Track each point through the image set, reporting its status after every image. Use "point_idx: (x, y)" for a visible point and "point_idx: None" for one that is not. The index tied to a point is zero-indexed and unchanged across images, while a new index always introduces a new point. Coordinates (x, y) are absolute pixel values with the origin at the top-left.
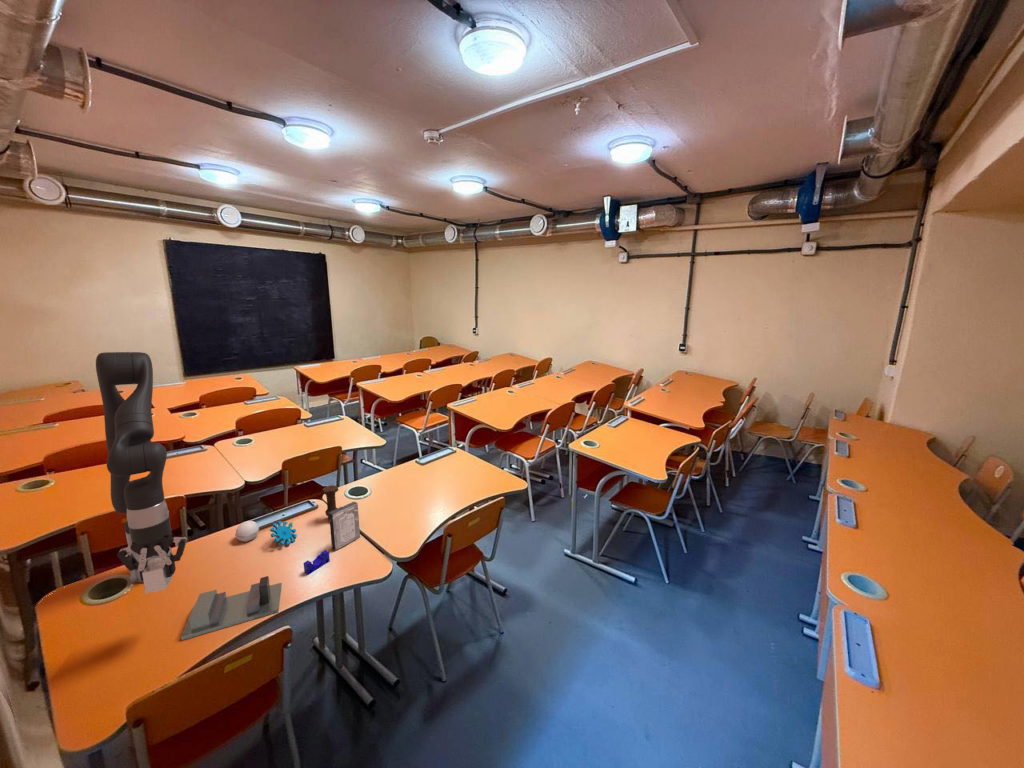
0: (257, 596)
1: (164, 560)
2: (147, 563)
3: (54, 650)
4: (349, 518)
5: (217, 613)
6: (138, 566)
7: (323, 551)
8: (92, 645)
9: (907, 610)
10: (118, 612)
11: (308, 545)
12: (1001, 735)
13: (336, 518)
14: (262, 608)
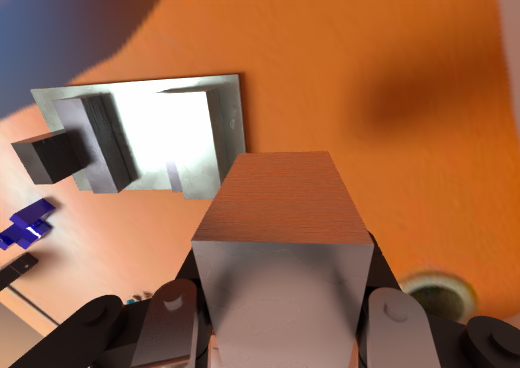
0: (74, 137)
1: (188, 340)
2: (357, 355)
3: (515, 165)
4: None
5: (152, 106)
6: (431, 350)
7: (5, 246)
8: (439, 147)
9: None
10: (403, 235)
11: (94, 285)
12: None
13: None
14: None
